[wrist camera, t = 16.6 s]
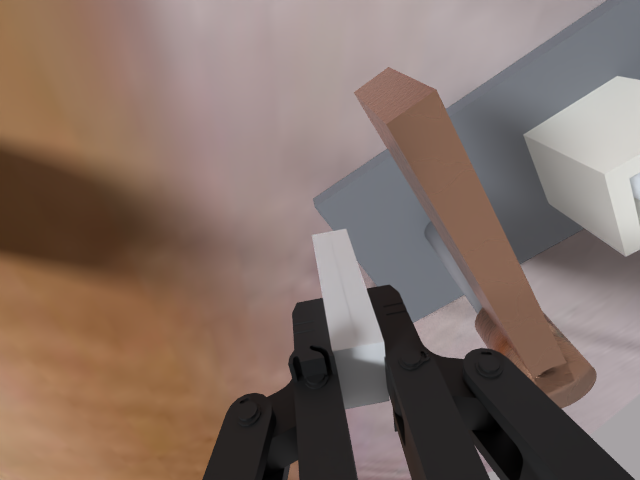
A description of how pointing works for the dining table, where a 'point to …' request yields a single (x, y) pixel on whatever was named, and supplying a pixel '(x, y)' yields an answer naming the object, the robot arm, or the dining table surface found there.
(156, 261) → the dining table surface
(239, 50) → the dining table surface
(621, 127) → the sleeve
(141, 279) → the dining table surface
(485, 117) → the base plate
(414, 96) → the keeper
